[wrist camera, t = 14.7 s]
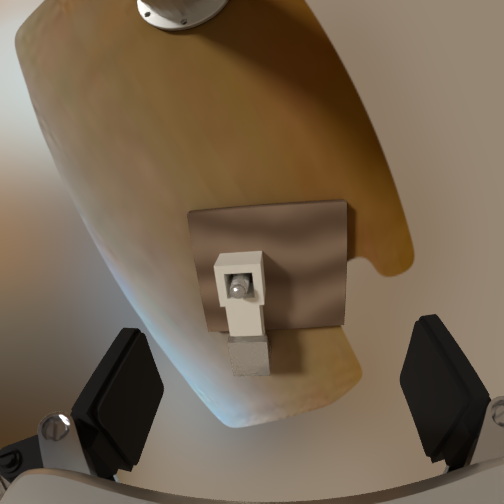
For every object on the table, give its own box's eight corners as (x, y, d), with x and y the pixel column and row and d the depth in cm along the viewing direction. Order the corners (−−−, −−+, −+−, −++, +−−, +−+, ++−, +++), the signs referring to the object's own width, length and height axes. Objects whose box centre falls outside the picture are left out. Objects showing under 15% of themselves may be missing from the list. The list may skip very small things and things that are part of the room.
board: (190, 210, 37) (186, 213, 36) (343, 199, 35) (346, 201, 34) (210, 325, 43) (208, 331, 42) (342, 318, 41) (343, 324, 40)
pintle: (234, 264, 38) (227, 286, 32) (250, 264, 38) (245, 285, 32) (236, 279, 38) (229, 303, 33) (252, 278, 38) (247, 302, 33)
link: (219, 253, 37) (213, 266, 34) (262, 250, 37) (260, 263, 33) (233, 339, 42) (229, 357, 38) (270, 338, 41) (269, 356, 38)
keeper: (233, 319, 42) (227, 342, 37) (268, 318, 42) (266, 341, 37) (238, 351, 44) (233, 376, 39) (271, 350, 44) (270, 375, 39)
